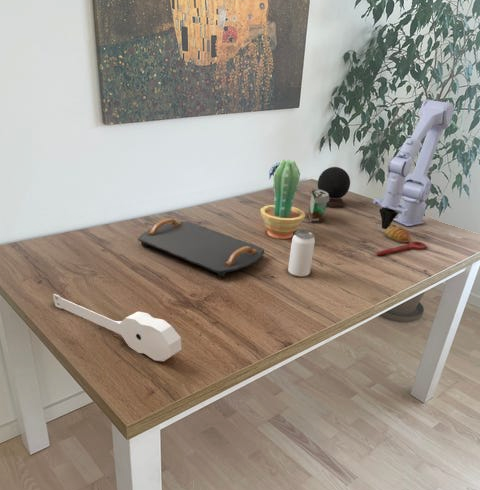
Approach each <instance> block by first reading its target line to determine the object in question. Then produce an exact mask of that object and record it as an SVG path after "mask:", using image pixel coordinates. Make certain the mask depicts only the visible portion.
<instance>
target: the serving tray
mask: <svg viewBox="0 0 480 490" xmlns="http://www.w3.org/2000/svg"><path fill="white" fill-rule="evenodd" d="M137 241H139V242H140V244H141V245H142V247H144V248H146V247H147V246H151V247H153V248H155V249H157V250H159V251H162V252H165V253H168V254H169V255H172V256H174V257H177V258H180V259H183V260H184V261H187V262H189V263H190V264H194V265H197V266H198V267H199V266H200V267H202V268H204V269H206V270H209V271H210V272H211V271H212V272H214V273H216V274H217V277H218V278H219V279H221V280H223V279H224V278H225V276H226V273H231V272H235V271H239V270H242V269H245V268H248V267H249V266H252V265H253V264H256V263H257V262H259V260H261V258H262V257H263V255H264V253H265V249H264V248H263V247H260V246H258V245H255V244H252V243H249V242H248V241H244V240H241V239H238V238H235V237H233V236H231V235H227V234H225V233H221V232H219V231H216V230H214V229H211V228H207V227H205V226H202V225H199V224H197V223H193V222H190V221H177V220H175V219H174V218H165V219H162V220H159V221H158V222H156V223H155V224H154V225H153V226H152V228H150V229H148V230H146V231H144V232H143V233H142V234H141V235H140V236H139V237H138V238H137Z"/></svg>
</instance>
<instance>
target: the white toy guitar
mask: <svg viewBox="0 0 480 490" xmlns="http://www.w3.org/2000/svg"><path fill="white" fill-rule="evenodd" d="M52 297H53V303H54V306H55V307H57V308H59V309H60V310H61V309H63V310H65V311H67V312H69V313H72V314H74V315H76V316H78V317H81V318H82V319H85V320H87V321H90V322H91V323H94V324H96V325H98V326H101V327H103V328H105V329H107V330H109V331H111V332H114V333H116V334H118V335H120V336H121V337H122V338H123V340H124V341H125V343H126V344H127V346H128V347H129V348H130V349H132V350H133V351H135V352H136V353H138V354H144V355H146V356H147V357H149V358H150V359H152V360H153V361H156V362H165V361H167V360H168V359H170V358H171V357H173V356H174V355H176V354H177V353H178V352H180V351H182V337H181V336H180V334H179V333H178V332H177V331H176V330H175V328H174V327H173V326H172V325H171V324H170V323H168V322H167V321H166V320H165V319H162V318H157V317H153V316H152V315H150V314H149V313H148V312H143V311H136V312H134V313H132V314H130V315H128V316H126V317H125V318H124V319H123V320H114V319H112V318H109V317H107V316H105V315H102V314H99V313H98V312H95V311H93V310H91V309H88V308H86V307H84V306H81V305H79V304H76V303H74V302H72V301H70V300H68V299H65V298H63V297H61V296H60V295H58V294H56V293H53V294H52Z"/></svg>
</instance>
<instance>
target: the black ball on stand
mask: <svg viewBox="0 0 480 490" xmlns="http://www.w3.org/2000/svg"><path fill="white" fill-rule="evenodd" d="M350 187H351V178H350V175H349V174H348V172H347V171H346V170H345V169H343V168H342V167H339V166H331V167H327V168H326V169H324V170H323V171H322V172H321V173H320V175H319V177H318V180H317V189H319V190H323V191H325V192H327V193H328V194H329V201H328V202H327V204H326V208H333V209H336V208H342V207H344V206H345V201H344V200H343V199H342V198H344V197H345V196H346V194H347V193H348V192H349V190H350Z"/></svg>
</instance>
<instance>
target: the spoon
mask: <svg viewBox="0 0 480 490" xmlns="http://www.w3.org/2000/svg"><path fill="white" fill-rule="evenodd" d="M426 247H427V244H426V243H425V242H423V241H409V243H408V244H405V245H401V246H396V247H392V248H391V247H390V248H387V249H382V250H379V251H378V250H377V252H376V255H377V257H380V256H385V255H390V254H393V253H398V252H402V251H407V250H417V251H422V250H424V249H426Z"/></svg>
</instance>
